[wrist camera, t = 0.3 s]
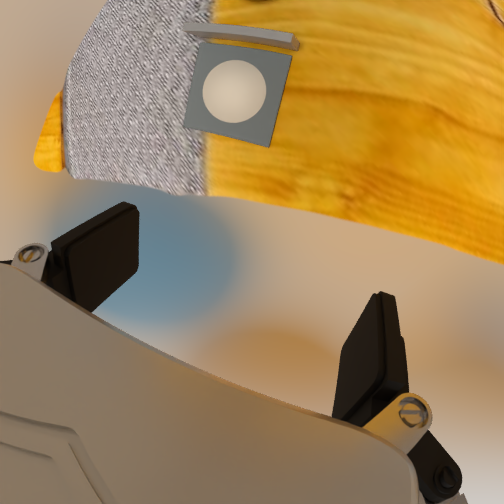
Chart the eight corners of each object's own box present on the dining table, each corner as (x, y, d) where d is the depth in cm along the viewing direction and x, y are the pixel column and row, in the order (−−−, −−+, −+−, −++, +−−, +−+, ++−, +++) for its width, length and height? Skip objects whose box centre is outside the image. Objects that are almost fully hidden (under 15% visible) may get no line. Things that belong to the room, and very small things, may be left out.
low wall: (201, 29, 32) (184, 22, 28) (299, 43, 30) (293, 33, 26) (199, 37, 33) (182, 30, 28) (297, 51, 31) (290, 42, 26)
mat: (201, 42, 33) (200, 42, 33) (292, 56, 31) (291, 55, 31) (184, 126, 40) (182, 126, 39) (269, 147, 38) (268, 147, 37)
